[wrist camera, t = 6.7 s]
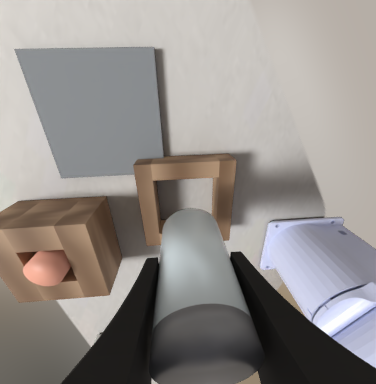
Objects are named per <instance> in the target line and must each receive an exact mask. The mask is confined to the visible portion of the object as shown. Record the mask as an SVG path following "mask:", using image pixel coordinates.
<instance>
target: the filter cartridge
mask: <svg viewBox="0 0 376 384" xmlns="http://www.w3.org/2000/svg"><path fill="white" fill-rule="evenodd" d="M264 359H265V353H264V351H263V348H262V345H261V342H260V340H259V337H258V334H257V331H256V329H255V326H254V323H253V320H252V318H251V315H250V312H249V309H248V307H247V304H246V301H245V298H244V296H243V293H242V290H241V287H240V285H239V282H238V279H237V276H236V274H235V271H234V268H233V265H232V263H231V260H230V257H229V254H228V252H227V249H226V246H225V243H224V241H223V238H222V235H221V232H220V230H219V227H218V224H217V222H216V220H215V218H214V217H213V216H212V215H211V214H209V213H208V212H206V211H204V210H201V209H196V208H188V209H183V210H180V211H177V212H175V213H174V214H172V215H171V216H170V217H169V218H168V219H167V220H166V222H165V224H164V226H163V230H162V240H161V250H160V260H159V270H158V280H157V290H156V300H155V310H154V319H153V329H152V339H151V349H150V359H149V374H150V376H151V377H152V379H153V380H154V381H155V382H157V383H158V384H236V383H238V382H241V381H243V380H245V379H247V378H248V377H250V376H251V375H253V374H254V373H255V372H256V371H258V369H259V368H260V367H261V366H262V364H263V362H264Z"/></svg>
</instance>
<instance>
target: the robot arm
mask: <svg viewBox="0 0 376 384" xmlns="http://www.w3.org/2000/svg"><path fill="white" fill-rule="evenodd" d="M343 222H344V219H343V218H342V217H331V218H314V219H298V220H283V221H271V222H270V223H269V224H268V228H267V233H266V238H265V243H264V247H263V252H262V257H261V262H260V268H261V269H262V270H267V269H276V270H277V272H278V273H279V275H280V276H281V278H282V280H283V281H284V283H285V284H286V286H287V288H288V289H289V291H290V292H291V294H292V295H293V297H294V299H295V300H296V302H297V304H298V305H299V307H300V308H301V310H302V312H303V313H304V315H305V316H306V317H305V316H304V315H302V314H301V313H300V312H299V311H298V310H297V309H295V308H294V307H293V306H292V305H291V304H290V303H289V302H288V301H287V300H285V299H284V298H283V297H282V296H281V295H280V294H279V293H278V292H277V291H276V290H275V289H274V288H273V287H272V286H271V285H270V284H269V283H268V282H267V281H266V279H265V278H264V277H263V276H262V275H261V274H260V273H259V272H258V271H257V270H256V269H255V267H254V266H253V265H252V264H251V263H250V262H249V260H248V259H247V258H246V257H245V256H244V255H243V253H242V252H231V256H230V260H231V263H232V265H233V268H234V271H235V274H236V276H237V279H238V282H239V285H240V287H241V290H242V293H243V296H244V298H245V301H246V304H247V307H248V309H249V312H250V315H251V318H252V320H253V323H254V326H255V329H256V331H257V334H258V337H259V340H260V342H261V345H262V348H263V351H264V353H265V359H264V362H263V364H262V366H261V367H260V368H259V369H258V374H259V378H260V381H261V384H376V249H375V248H373V247H372V246H371V245H369V244H368V243H366V242H365V241H364V240H362V239H361V238H359V237H358V236H356V235H355V234H354V233H352V232H351V231H349V230H348V229H347V228H345V227H344V226H342V225H343ZM277 224H278V225H277ZM276 225H277V226H276ZM158 270H159V262H158V257H157V258H147V259H146V261H145V263H144V266H143V268H142V270H141V272H140V274H139V276H138V278H137V280H136V282H135V283H134V285H133V287H132V289H131V291H130V292H129V294H128V296H127V297H126V299H125V300H124V302H123V304H122V305H121V307H120V309H119V310H118V312H117V313H116V315H115V316H114V318H113V319H112V320H111V322H110V323H109V325H108V326H107V327H106V329H105V330H104V332H103V333H102V334H101V335H100V337H99V338H98V339H97V341H96V342H95V343H94V345H93V346H92V347H91V349H90V350H89V351H88V352H87V353H86V355H85V356H84V357H83V358H82V359H81V361H80V362H79V363H78V364H77V365H76V366H75V368H74V369H73V370H72V371H71V373H70V374H69V375H68V376H67V377H66V378H65V379H64V380H63V382H62V383H61V384H151V376H150V374H149V359H150V349H151V339H152V329H153V319H154V310H155V300H156V290H157V280H158Z"/></svg>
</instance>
